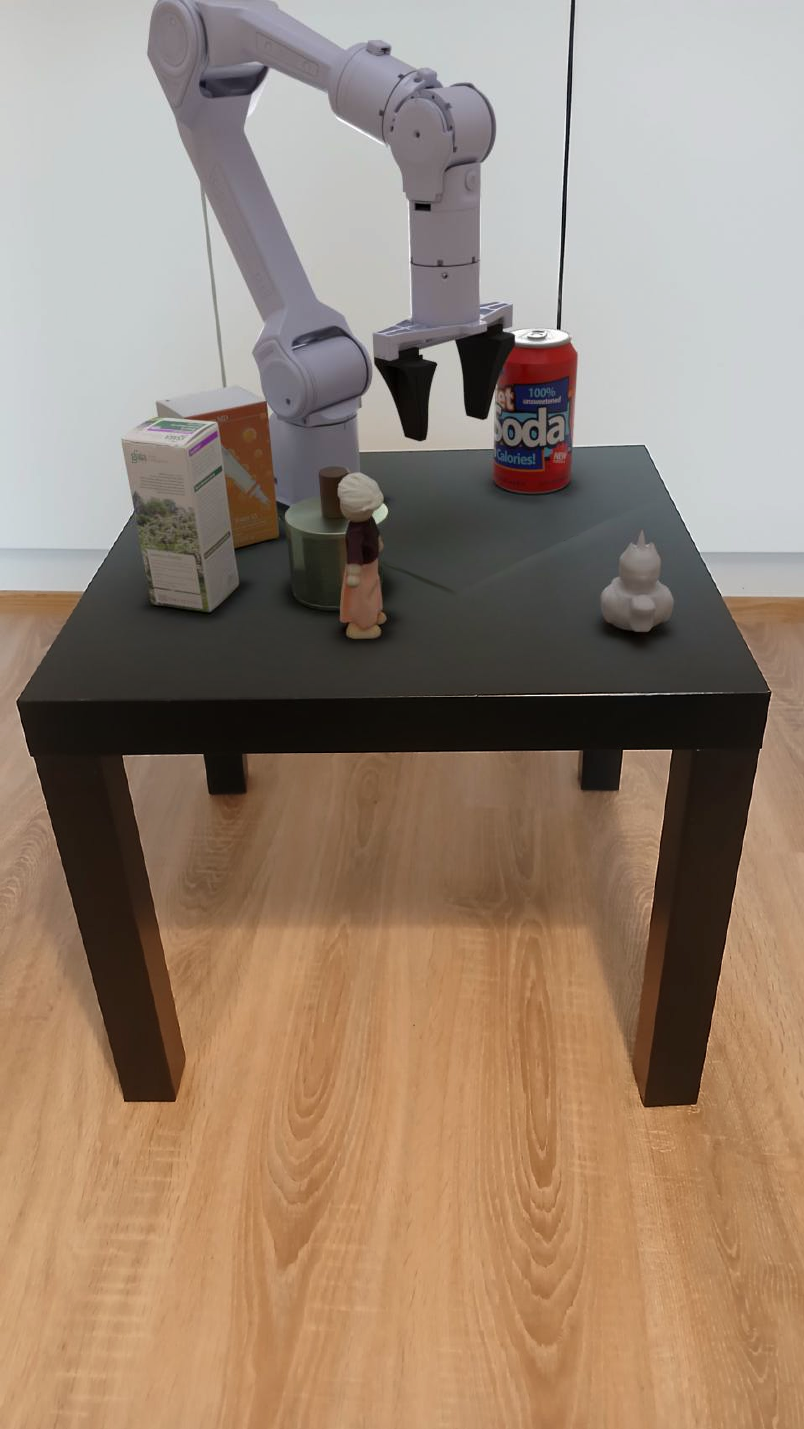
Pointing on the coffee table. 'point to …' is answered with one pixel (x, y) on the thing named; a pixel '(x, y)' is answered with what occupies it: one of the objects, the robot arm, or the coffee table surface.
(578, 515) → the coffee table surface
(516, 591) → the coffee table surface
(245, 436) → the small box
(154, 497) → the syrup box
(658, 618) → the horned animal figurine
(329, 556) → the pot
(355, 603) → the grandmother figurine
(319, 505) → the pot lid
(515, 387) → the soda can
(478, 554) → the coffee table surface
